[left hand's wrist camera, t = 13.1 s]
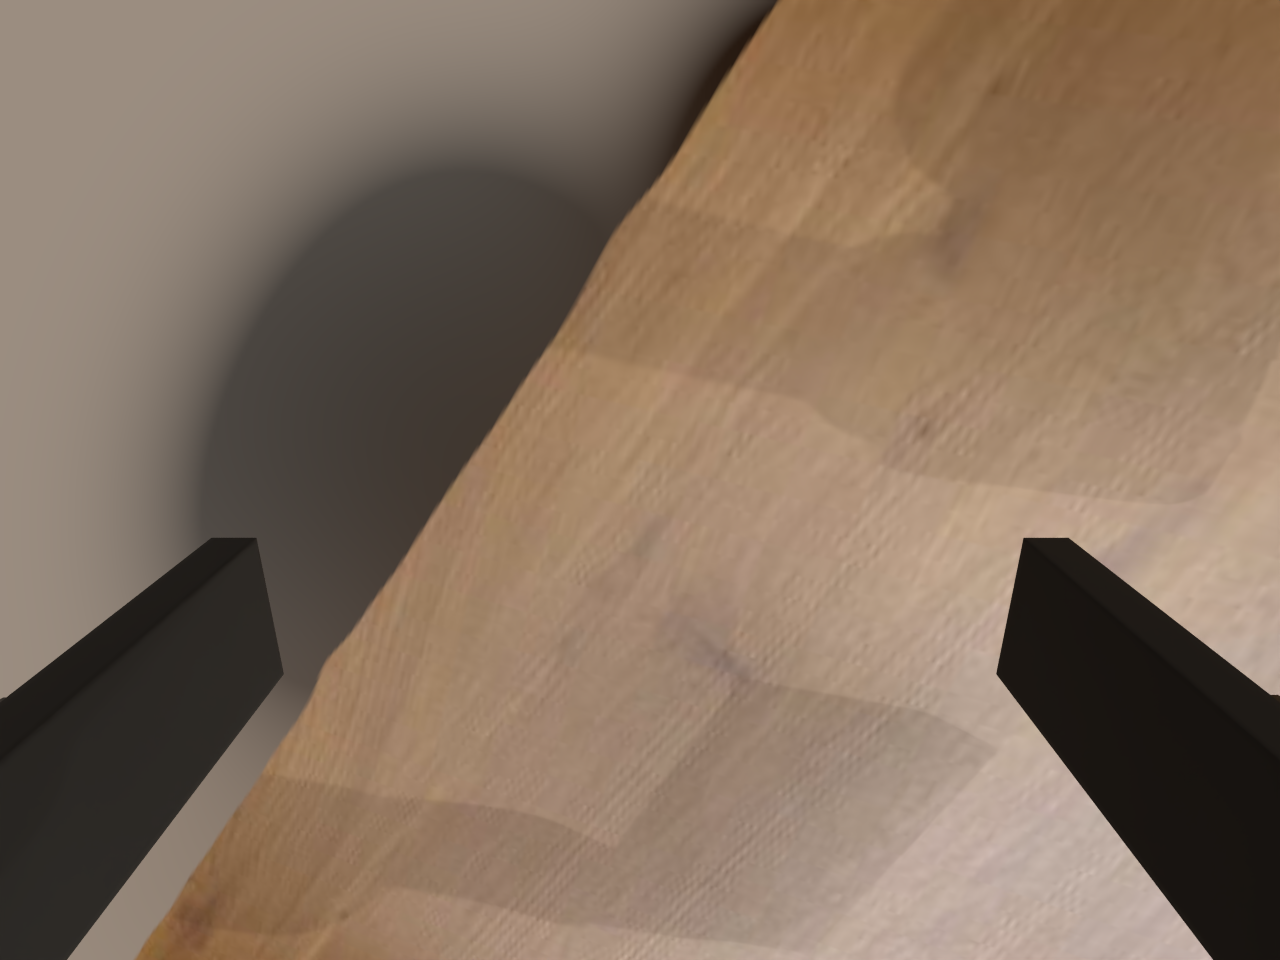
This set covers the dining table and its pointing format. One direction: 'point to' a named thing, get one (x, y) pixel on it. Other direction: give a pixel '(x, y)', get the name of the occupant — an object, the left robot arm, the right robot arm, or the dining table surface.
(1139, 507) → the dining table surface
